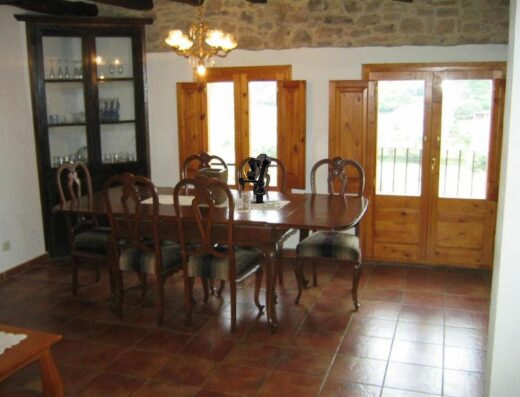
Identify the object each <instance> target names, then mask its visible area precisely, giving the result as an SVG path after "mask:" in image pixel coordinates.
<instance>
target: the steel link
mask: <svg viewBox="0 0 520 397" xmlns="http://www.w3.org/2000/svg"><path fill="white" fill-rule="evenodd" d="M243 194H247V210H251V194H252V193H251V192H247V191H241V210H243Z"/></svg>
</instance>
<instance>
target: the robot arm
mask: <svg viewBox="0 0 520 397" xmlns="http://www.w3.org/2000/svg"><path fill="white" fill-rule="evenodd" d="M271 164H272V158H271V156H269V155H268V154H266V153H259V155H258V156H257V158H254V157H251V158H250V159H249V160H248V161H247V165H248V168H249V169H250V170H249V171H248V170H247V171H246V178H247V179H245V177H238V178H237V180H238V182H239V185H240V186H241V187H242V192H245V187H246V184H247V183H249V184H254V185H253V187H252V194H253V196H254V195H255V201H254V203H255V204H265V201H264V196H266V195H267V191H266V187H265V185H266V182H265V178H266V175H267V170H268V169H269V168H271ZM259 170H260V171H259ZM258 173H259V174H258Z"/></svg>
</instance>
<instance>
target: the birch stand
mask: <svg viewBox="0 0 520 397" xmlns="http://www.w3.org/2000/svg"><path fill="white" fill-rule="evenodd" d="M247 208H248V195H247V194H243V209H242V208H240V209H236V211H234V212H236V213H251V212H253V210H252V209H250V210H247Z"/></svg>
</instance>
